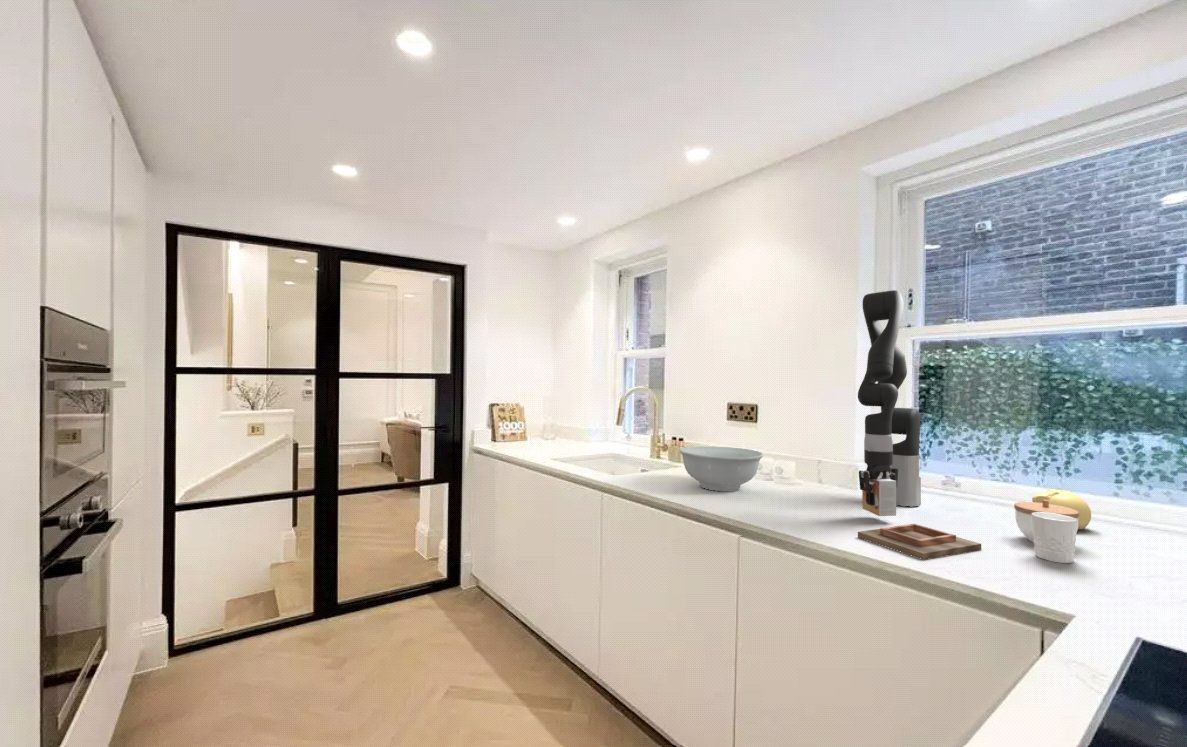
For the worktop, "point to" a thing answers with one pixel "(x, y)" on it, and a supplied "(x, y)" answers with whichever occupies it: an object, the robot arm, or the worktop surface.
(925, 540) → the walnut board
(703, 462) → the bowl
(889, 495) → the small box
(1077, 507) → the sculpture
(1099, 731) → the worktop surface
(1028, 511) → the lidded bowl
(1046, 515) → the white cup
